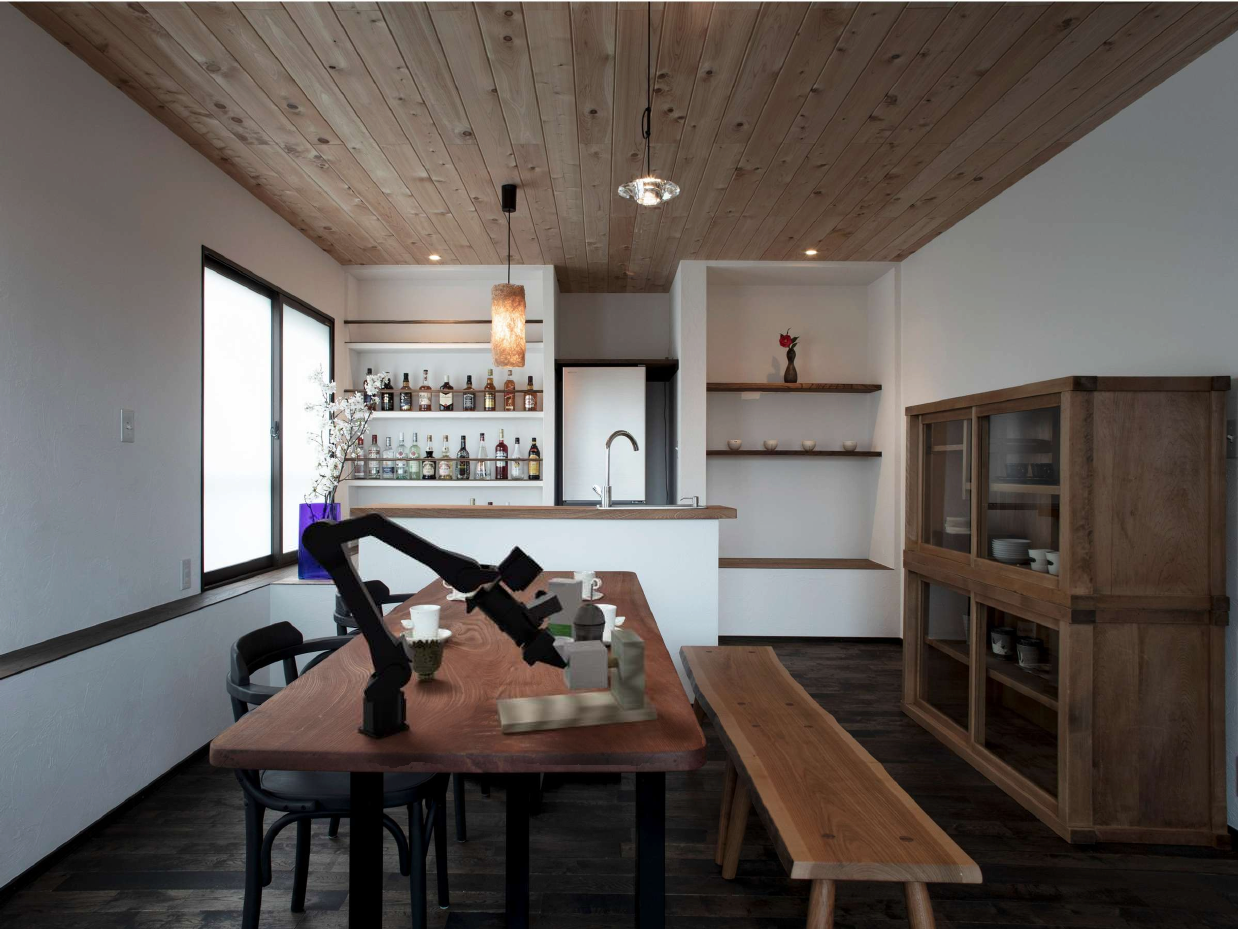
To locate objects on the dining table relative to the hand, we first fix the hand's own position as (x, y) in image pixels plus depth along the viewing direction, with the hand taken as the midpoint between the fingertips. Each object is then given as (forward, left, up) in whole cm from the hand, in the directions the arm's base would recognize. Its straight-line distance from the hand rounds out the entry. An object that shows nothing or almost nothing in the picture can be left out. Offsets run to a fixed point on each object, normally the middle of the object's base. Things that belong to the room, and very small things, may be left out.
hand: (565, 666), depth 129 cm
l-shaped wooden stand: (+2, -1, -9) cm, 9 cm away
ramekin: (+27, +28, -9) cm, 40 cm away
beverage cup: (+22, +13, -9) cm, 27 cm away
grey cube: (+3, -2, -3) cm, 5 cm away
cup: (-3, +38, -9) cm, 39 cm away
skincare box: (+43, +40, -9) cm, 59 cm away
